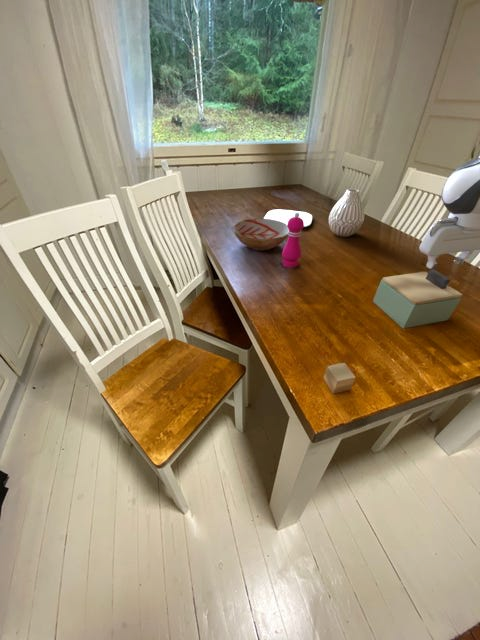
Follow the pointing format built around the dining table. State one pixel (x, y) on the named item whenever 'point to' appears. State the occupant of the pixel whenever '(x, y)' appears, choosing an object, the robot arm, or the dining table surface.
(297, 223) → the pepper mill
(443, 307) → the box
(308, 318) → the dining table surface
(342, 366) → the block
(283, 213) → the plate
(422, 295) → the lid
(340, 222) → the vase
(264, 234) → the bowl
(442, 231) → the robot arm
